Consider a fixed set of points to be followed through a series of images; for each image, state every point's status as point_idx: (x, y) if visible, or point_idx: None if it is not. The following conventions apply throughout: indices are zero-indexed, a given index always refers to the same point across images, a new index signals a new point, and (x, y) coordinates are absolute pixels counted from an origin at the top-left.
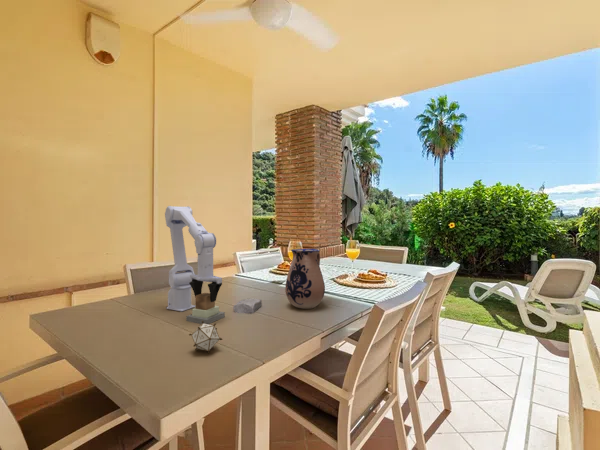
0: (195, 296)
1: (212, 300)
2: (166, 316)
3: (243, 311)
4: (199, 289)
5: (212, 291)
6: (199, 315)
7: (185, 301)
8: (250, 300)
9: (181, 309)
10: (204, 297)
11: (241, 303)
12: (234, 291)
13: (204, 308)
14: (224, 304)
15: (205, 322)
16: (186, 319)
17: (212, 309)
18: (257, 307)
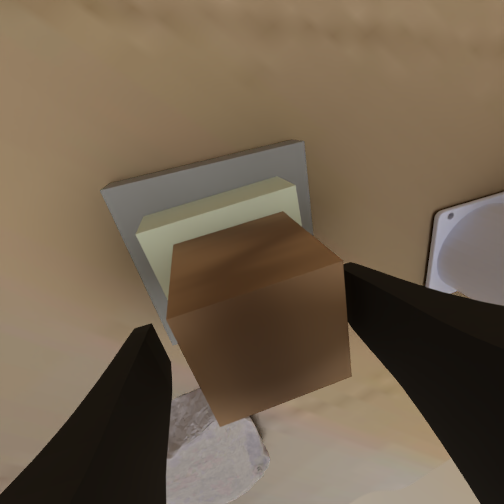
0: (367, 271)
1: (127, 344)
2: (459, 104)
3: None
4: (409, 368)
5: (25, 470)
6: (211, 198)
7: (483, 260)
8: (209, 488)
9: (453, 221)
10: (189, 306)
11: (181, 453)
12: (418, 459)
13: (188, 246)
14: (336, 391)
15: (114, 184)
16: (293, 141)
17: (165, 293)
18: None
